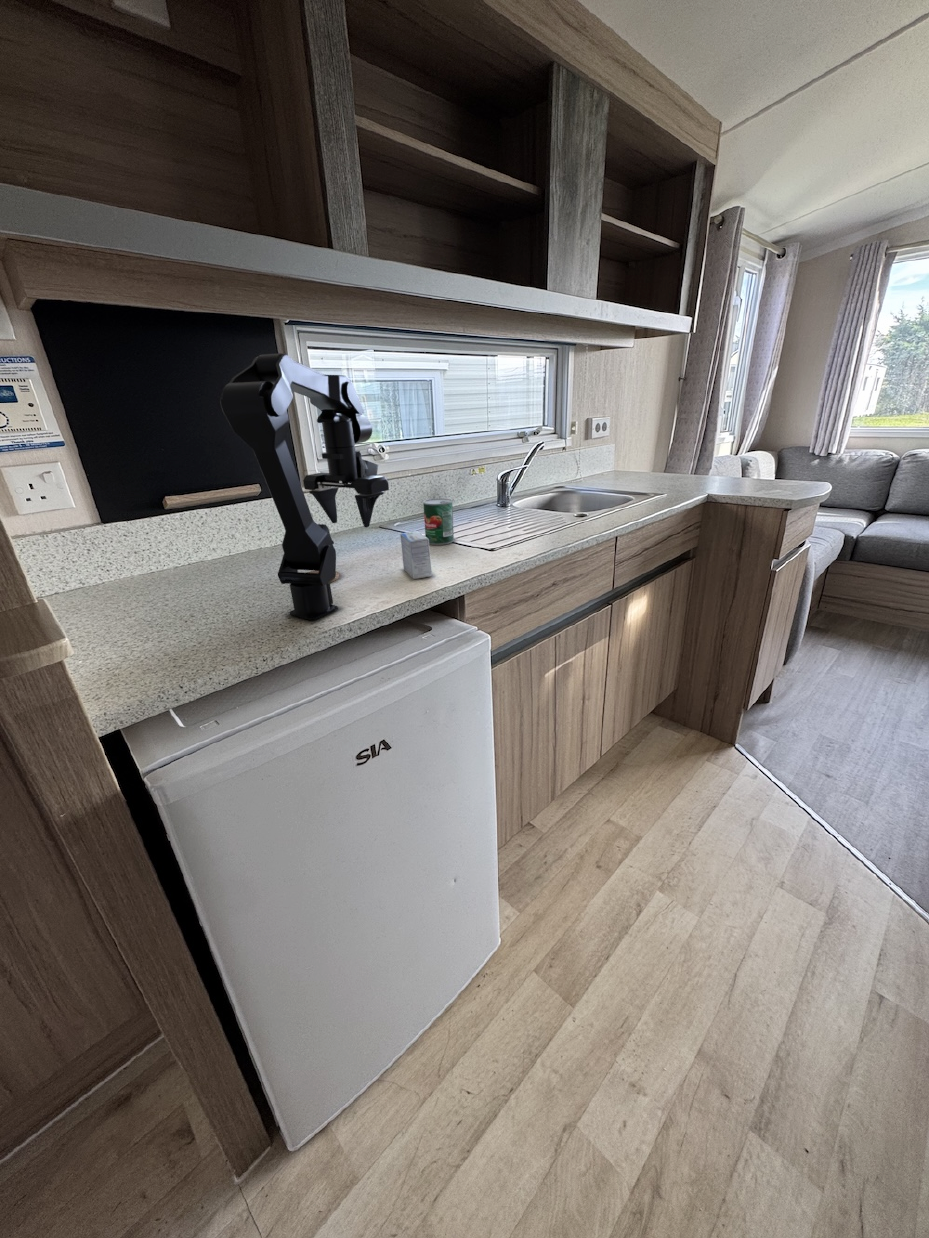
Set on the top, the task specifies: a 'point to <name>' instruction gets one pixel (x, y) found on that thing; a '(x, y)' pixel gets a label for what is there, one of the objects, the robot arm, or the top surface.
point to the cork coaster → (330, 581)
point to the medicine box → (416, 554)
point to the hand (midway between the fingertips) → (350, 524)
